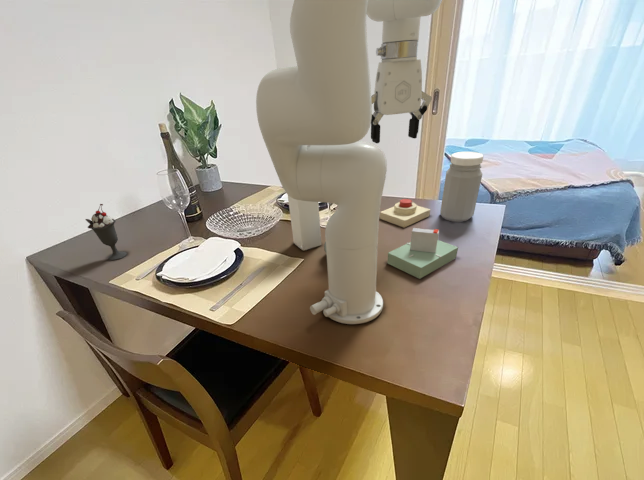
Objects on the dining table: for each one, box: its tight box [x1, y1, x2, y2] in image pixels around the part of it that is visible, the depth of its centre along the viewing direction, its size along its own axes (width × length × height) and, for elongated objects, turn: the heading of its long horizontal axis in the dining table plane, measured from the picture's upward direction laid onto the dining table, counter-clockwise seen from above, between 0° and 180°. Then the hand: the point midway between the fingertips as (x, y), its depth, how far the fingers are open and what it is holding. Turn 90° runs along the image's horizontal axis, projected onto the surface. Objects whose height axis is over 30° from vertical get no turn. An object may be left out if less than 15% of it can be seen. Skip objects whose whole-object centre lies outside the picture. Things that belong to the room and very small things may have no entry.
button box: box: [379, 201, 431, 228], centre depth 103 cm, size 12×10×4 cm
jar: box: [439, 151, 484, 223], centre depth 97 cm, size 10×10×18 cm
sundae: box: [85, 203, 128, 261], centre depth 91 cm, size 7×7×15 cm
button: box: [399, 198, 413, 208], centre depth 102 cm, size 4×4×2 cm
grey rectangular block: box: [410, 227, 440, 253], centre depth 79 cm, size 6×2×5 cm, turn 68°
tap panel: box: [386, 239, 459, 280], centre depth 81 cm, size 14×10×3 cm
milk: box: [287, 194, 322, 252], centre depth 87 cm, size 6×6×22 cm
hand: (394, 139), depth 81 cm, fingers open, 9 cm apart
